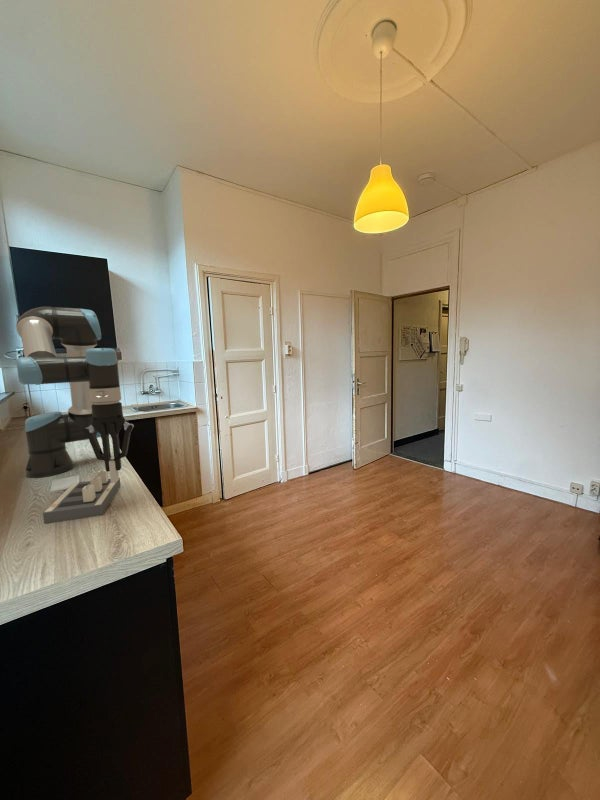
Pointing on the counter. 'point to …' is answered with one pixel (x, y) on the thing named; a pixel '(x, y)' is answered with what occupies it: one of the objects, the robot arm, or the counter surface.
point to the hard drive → (63, 483)
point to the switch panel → (80, 502)
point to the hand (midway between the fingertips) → (115, 481)
